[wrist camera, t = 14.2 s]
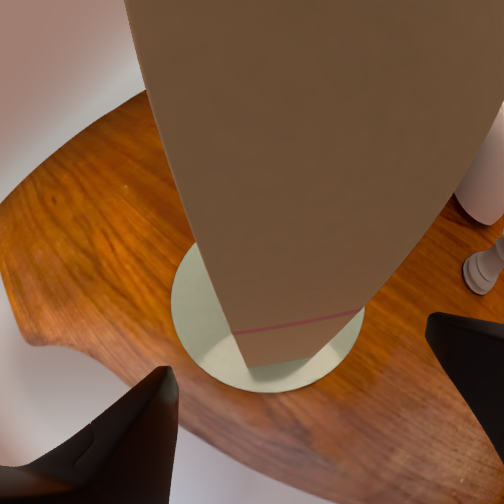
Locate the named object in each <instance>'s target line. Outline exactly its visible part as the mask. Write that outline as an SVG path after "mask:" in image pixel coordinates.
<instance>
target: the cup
mask: <svg viewBox="0 0 504 504" xmlns="http://www.w3.org/2000/svg"><path fill="white" fill-rule="evenodd" d="M454 193H455V195H456V197H457V199H458V201H459V203H460V204H461V206H462V207H463V208H464V210H465V211H466V212H467V213H468V214H469V215H470V216H471V217H473V218H474V219H475V220H477V221H478V222H480V223H483V224H485V225H492V224H494V223H495V222H496V221H497V220H498V219H499V218H500V217H501V216H502V215H503V214H504V103H502V106H501V108H500V110H499V112H498V114H497V116H496V118H495V121H494V123H493V125H492V127H491V129H490V131H489V133H488V135H487V136H486V138H485V140H484V142H483V144H482V146H481V148H480V150H479V151H478V153H477V155H476V157H475V158H474V160H473V162H472V164H471V165H470V167H469V169H468V170H467V172H466V174H465V175H464V177H463V179H462V180H461V182H460V183H459V185H458V187H457V188H456V190H455V191H454Z"/></svg>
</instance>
